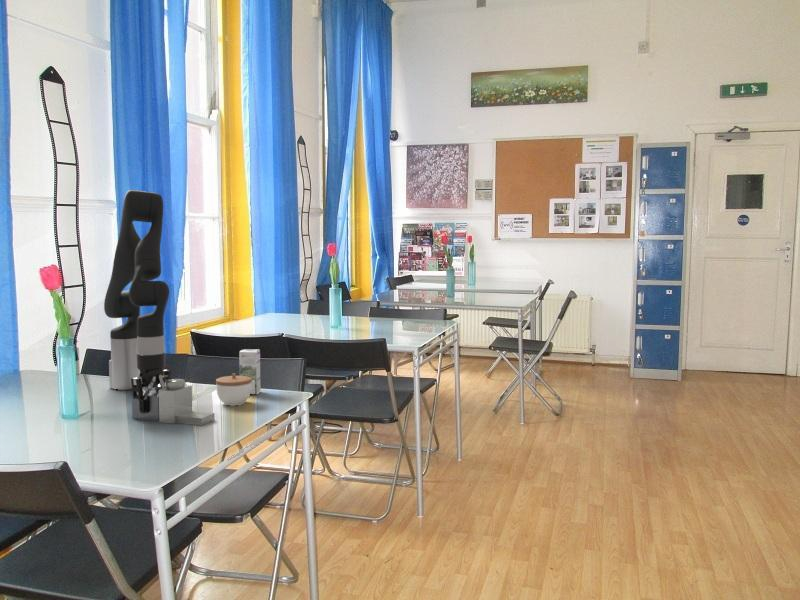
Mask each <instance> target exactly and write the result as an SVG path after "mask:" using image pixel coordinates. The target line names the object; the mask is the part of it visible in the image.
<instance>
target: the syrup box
mask: <svg viewBox="0 0 800 600" xmlns="http://www.w3.org/2000/svg"><path fill="white" fill-rule="evenodd" d="M238 352H239V353H238V354H239V355H238V358H239V365H238V366H239V376H248V377H251V378H252V382H251V393H250V394H257V393H258V392H259V391H260V390H261V389H262V388H261V350H260V349H259V348H258V349H256V348H255V349H253V348H252V349H250V348H244V349H241V350H239V351H238ZM260 392H261V391H260Z"/></svg>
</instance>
